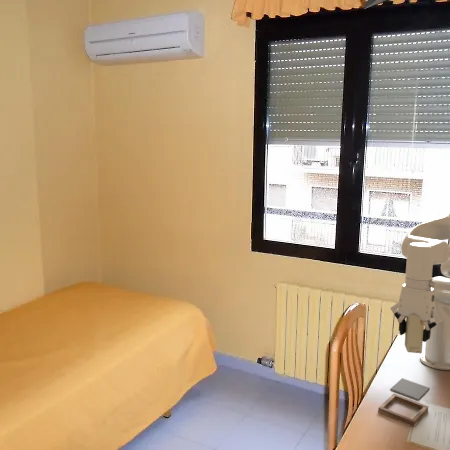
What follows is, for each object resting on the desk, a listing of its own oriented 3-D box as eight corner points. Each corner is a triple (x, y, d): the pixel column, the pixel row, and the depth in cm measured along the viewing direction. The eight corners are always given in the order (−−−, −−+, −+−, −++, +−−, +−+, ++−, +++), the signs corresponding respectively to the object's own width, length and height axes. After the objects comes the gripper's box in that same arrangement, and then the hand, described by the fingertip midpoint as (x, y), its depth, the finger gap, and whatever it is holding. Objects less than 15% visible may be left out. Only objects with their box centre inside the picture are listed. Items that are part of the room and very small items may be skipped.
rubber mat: (402, 379, 160) (402, 378, 160) (429, 389, 154) (429, 387, 154) (390, 389, 154) (390, 388, 154) (418, 400, 148) (418, 399, 148)
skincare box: (422, 354, 148) (425, 317, 145) (407, 352, 149) (410, 315, 146) (418, 345, 154) (421, 309, 151) (404, 343, 155) (406, 308, 152)
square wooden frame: (393, 397, 149) (393, 393, 149) (427, 410, 142) (428, 406, 142) (378, 412, 142) (378, 407, 141) (413, 426, 135) (414, 422, 134)
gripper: (451, 286, 144) (446, 341, 147) (396, 274, 155) (392, 326, 159) (442, 292, 138) (437, 349, 142) (385, 279, 150) (382, 332, 154)
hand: (413, 336), depth 150 cm, fingers closed on skincare box, 6 cm apart
